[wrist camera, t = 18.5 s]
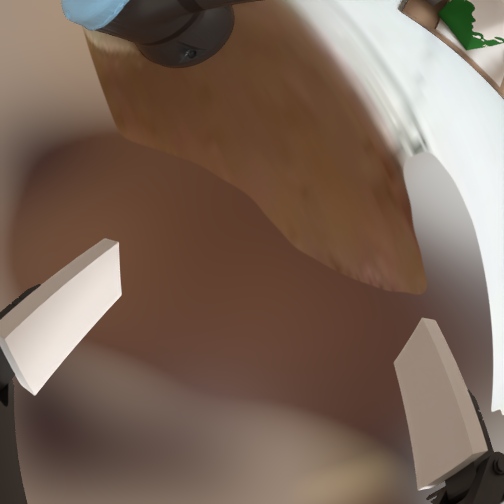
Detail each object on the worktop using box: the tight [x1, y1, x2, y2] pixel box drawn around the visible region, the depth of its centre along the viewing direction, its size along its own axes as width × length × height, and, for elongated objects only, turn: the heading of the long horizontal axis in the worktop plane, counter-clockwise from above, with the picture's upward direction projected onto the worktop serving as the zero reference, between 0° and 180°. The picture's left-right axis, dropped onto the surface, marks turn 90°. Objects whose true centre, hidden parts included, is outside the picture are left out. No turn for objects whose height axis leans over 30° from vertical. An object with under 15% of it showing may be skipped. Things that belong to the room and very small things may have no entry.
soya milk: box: [438, 0, 504, 51], centre depth 13 cm, size 9×9×20 cm
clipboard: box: [402, 0, 504, 99], centre depth 20 cm, size 25×15×5 cm, turn 64°
